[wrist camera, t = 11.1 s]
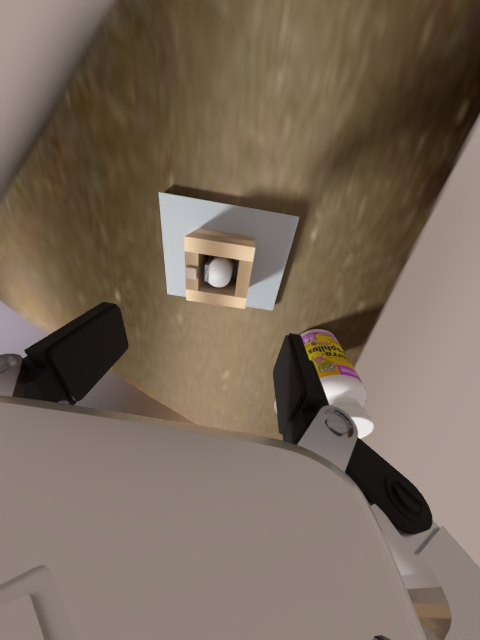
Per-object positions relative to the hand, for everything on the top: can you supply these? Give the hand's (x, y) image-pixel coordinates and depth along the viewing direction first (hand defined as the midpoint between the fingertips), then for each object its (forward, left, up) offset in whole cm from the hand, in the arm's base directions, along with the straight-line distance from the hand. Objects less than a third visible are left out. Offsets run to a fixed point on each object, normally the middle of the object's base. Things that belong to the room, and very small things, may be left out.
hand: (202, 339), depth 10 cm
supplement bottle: (-14, +10, -15) cm, 23 cm away
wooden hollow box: (+1, -1, -13) cm, 13 cm away
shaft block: (+1, -1, -14) cm, 14 cm away
